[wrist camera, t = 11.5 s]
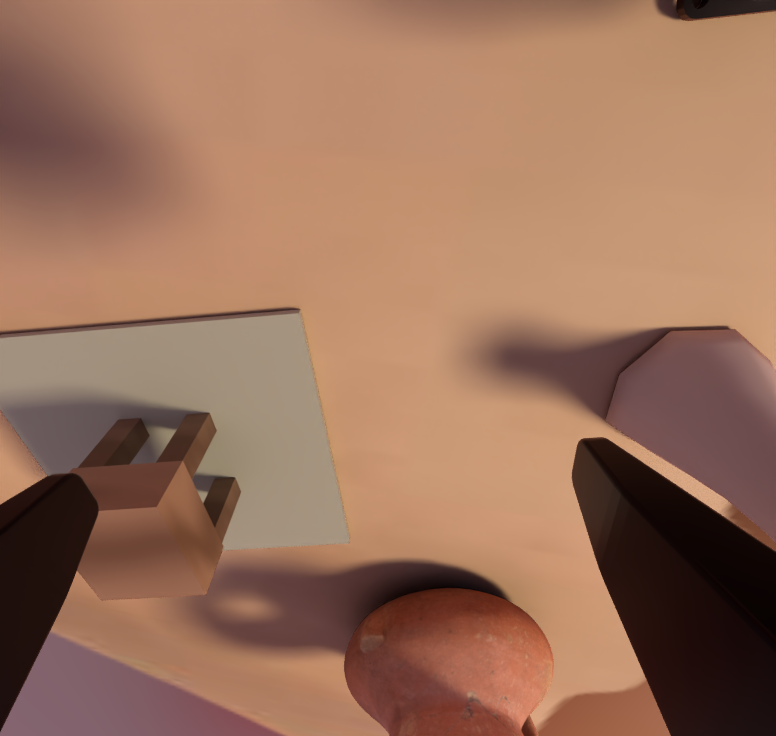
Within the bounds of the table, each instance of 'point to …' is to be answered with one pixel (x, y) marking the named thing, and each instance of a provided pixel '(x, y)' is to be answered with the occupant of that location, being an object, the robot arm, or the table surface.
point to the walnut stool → (154, 514)
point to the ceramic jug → (449, 665)
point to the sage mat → (189, 411)
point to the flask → (707, 415)
